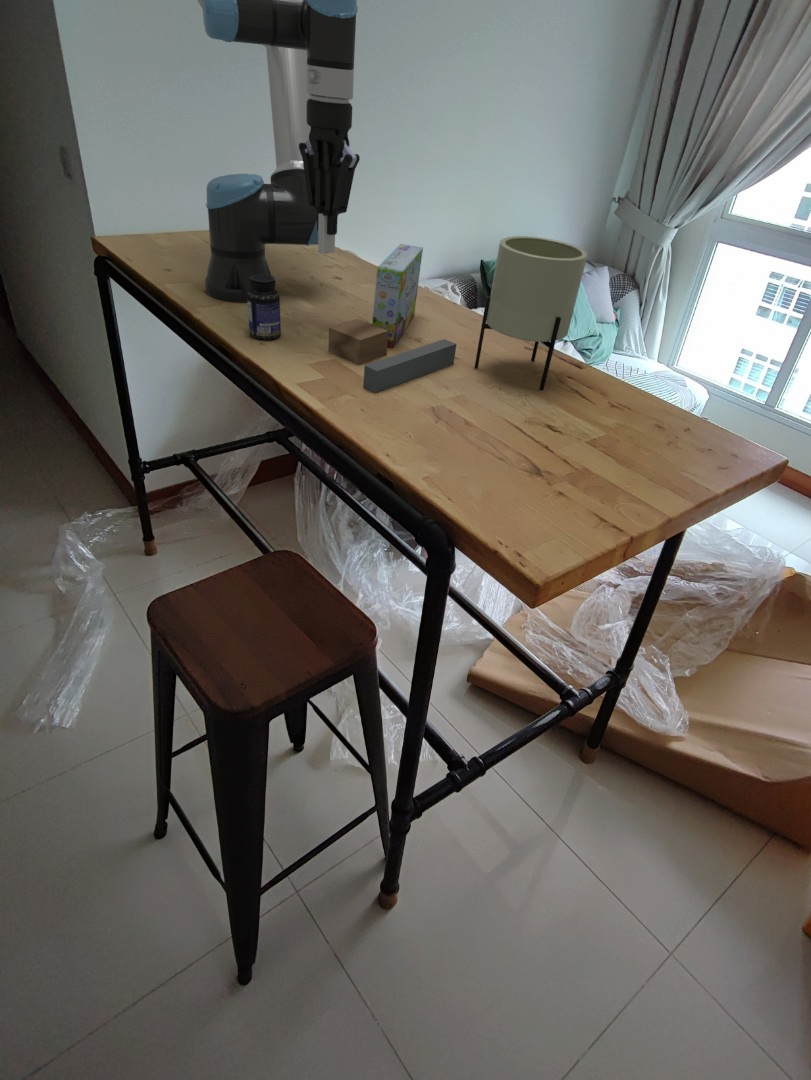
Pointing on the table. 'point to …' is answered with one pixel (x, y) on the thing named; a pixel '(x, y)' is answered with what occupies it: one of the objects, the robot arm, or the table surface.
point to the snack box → (397, 291)
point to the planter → (533, 292)
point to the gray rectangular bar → (408, 365)
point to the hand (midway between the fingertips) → (326, 251)
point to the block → (358, 341)
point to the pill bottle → (264, 308)
